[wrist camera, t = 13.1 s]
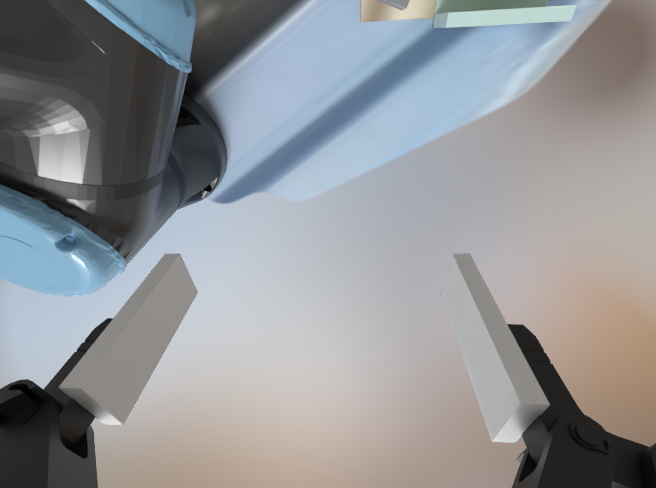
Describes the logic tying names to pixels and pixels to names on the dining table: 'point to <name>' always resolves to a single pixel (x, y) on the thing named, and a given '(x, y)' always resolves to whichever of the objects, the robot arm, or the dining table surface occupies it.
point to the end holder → (497, 12)
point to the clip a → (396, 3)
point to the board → (396, 10)
